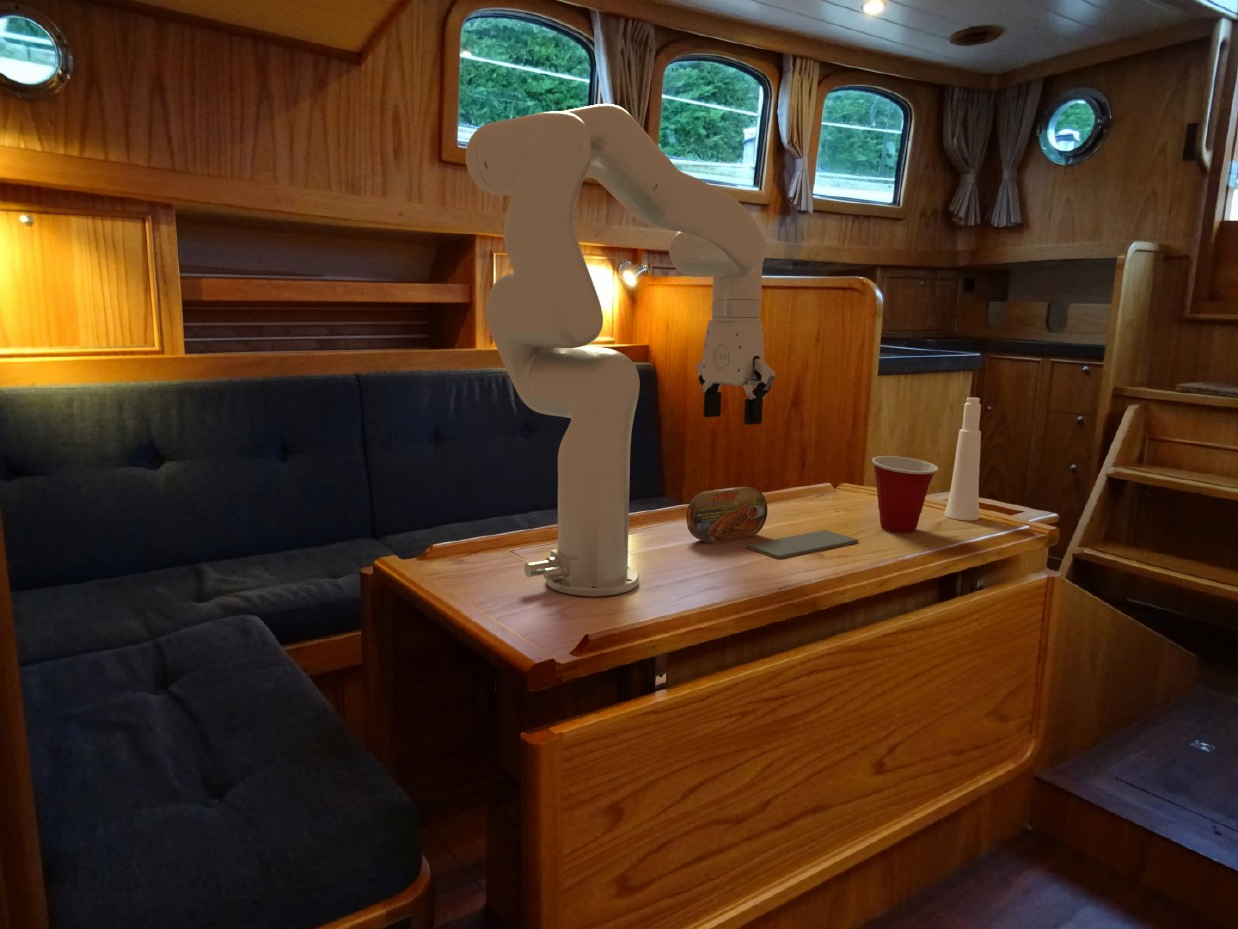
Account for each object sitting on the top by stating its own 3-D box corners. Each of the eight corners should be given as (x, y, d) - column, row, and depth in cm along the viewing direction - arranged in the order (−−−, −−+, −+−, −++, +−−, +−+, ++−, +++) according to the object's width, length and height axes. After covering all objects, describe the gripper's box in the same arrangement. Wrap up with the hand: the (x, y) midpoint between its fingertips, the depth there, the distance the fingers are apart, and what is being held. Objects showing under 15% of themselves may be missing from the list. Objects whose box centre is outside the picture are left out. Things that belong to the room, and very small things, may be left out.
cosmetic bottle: (941, 517, 156) (952, 398, 152) (947, 511, 161) (958, 395, 157) (977, 522, 153) (989, 400, 149) (981, 515, 158) (993, 397, 154)
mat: (778, 558, 128) (778, 555, 128) (746, 547, 134) (746, 544, 134) (858, 542, 138) (858, 539, 138) (825, 532, 144) (825, 529, 144)
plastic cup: (907, 541, 140) (913, 469, 138) (853, 527, 148) (858, 459, 146) (945, 532, 146) (951, 463, 144) (892, 518, 155) (897, 453, 153)
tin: (693, 546, 134) (695, 494, 133) (682, 541, 137) (684, 490, 136) (767, 535, 142) (770, 486, 140) (755, 531, 145) (758, 482, 143)
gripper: (682, 310, 138) (679, 415, 141) (756, 312, 124) (751, 429, 127) (718, 310, 142) (714, 412, 145) (793, 312, 128) (787, 425, 131)
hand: (731, 420), depth 136 cm, fingers open, 9 cm apart
